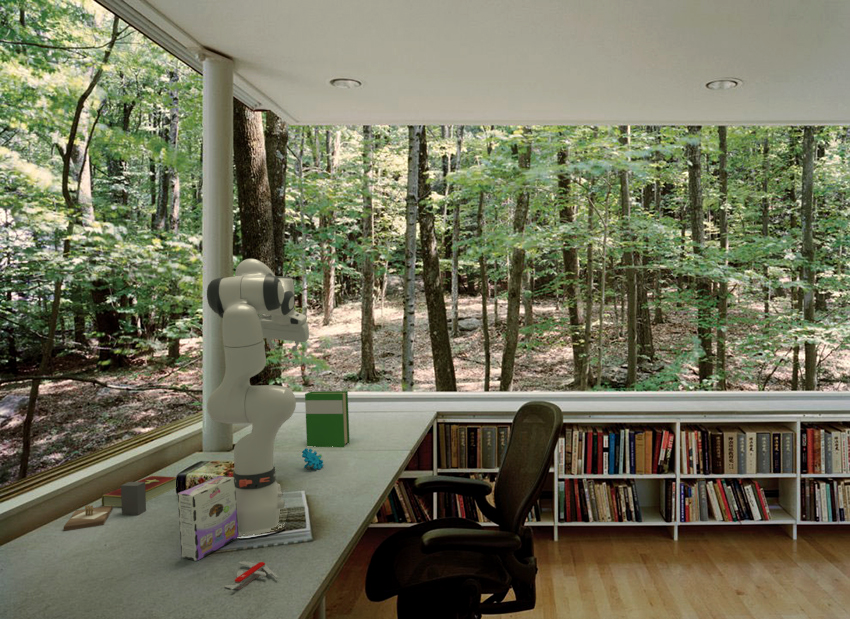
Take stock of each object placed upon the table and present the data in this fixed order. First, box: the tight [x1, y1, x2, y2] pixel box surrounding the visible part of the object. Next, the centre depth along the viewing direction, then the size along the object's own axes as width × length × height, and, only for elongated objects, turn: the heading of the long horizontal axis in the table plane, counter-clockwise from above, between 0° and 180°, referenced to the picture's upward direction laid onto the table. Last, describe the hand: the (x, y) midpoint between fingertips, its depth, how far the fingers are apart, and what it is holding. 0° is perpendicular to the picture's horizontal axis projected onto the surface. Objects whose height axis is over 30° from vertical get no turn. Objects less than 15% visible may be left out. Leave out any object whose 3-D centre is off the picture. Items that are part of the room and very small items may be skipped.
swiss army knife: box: [223, 560, 279, 590], centre depth 120 cm, size 12×14×2 cm
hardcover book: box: [101, 475, 177, 508], centre depth 182 cm, size 12×21×4 cm, turn 165°
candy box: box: [177, 475, 239, 562], centre depth 138 cm, size 14×6×16 cm, turn 154°
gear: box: [301, 447, 324, 470], centre depth 208 cm, size 11×6×10 cm
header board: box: [63, 505, 114, 532], centre depth 162 cm, size 14×10×4 cm
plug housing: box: [120, 481, 147, 516], centre depth 166 cm, size 6×4×9 cm, turn 81°
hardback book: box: [304, 390, 350, 448], centre depth 244 cm, size 18×7×24 cm, turn 79°
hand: (283, 349), depth 213 cm, fingers open, 8 cm apart
